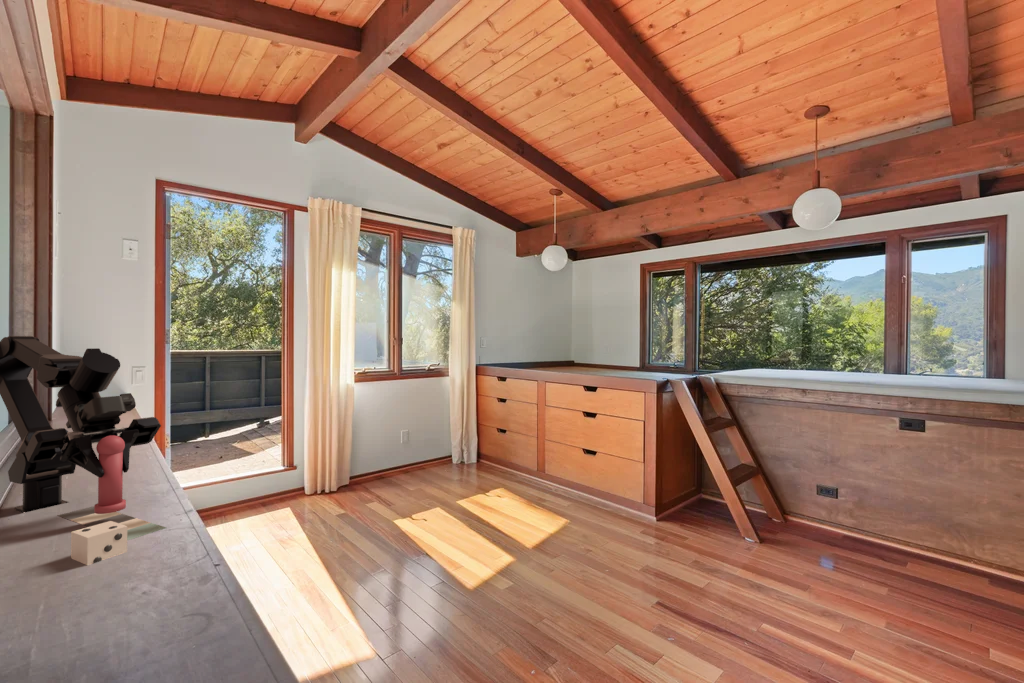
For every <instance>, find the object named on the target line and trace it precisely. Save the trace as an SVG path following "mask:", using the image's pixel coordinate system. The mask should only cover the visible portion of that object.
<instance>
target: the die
mask: <svg viewBox="0 0 1024 683" xmlns="http://www.w3.org/2000/svg"><path fill="white" fill-rule="evenodd" d="M70 534H71V537H70V539H71V540H70V541H71V542H70V543H71V544H70V546H71V547H70V550H71V551H70V556H71V557H70V559H72V560H74V561H76V562H78V563H81V564H83V565H86V566H90V565H93V564H96V563H99V562H101V561H104V560H107V559H111V558H114V557H115V556H116V557H117V556H119V555H122V554H126V553H127V552H128V540H127V526H125V525H122V524H119V523H116V522H113V521H108V522H105V523H101V524H98V525H94V526H90V527H88V526H86V527H84V528H81V529H77V530H73V531H71V533H70Z"/></svg>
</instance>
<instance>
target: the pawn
mask: <svg viewBox="0 0 1024 683" xmlns="http://www.w3.org/2000/svg"><path fill="white" fill-rule="evenodd" d="M124 448H125V442H124V440H123V439H122V438H121V437H119V436H115V435H110V436H106V437H104V438H102V439H101V440H100V441H99V442H98V443H96V448H95V449H96V452H97V454H98V456H97V458H98V460H99V462H100V464H101V466H102V468H103V471H104V475H103V477H101V478H99V477H98V478H97V479H98V480H97V481H98V482H97V491H98V492H97V495H98V496H97V500H98V501H97V503H95V504H94V513H96V514H106V513H113V512H120V511H122V510H124V509H126V507H127V501H126V499H124V498H123V490H124V489H123V486H124V485H123V481H124V479H123V475H124V474H123V473H124V472H123V450H124Z"/></svg>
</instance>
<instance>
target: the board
mask: <svg viewBox="0 0 1024 683" xmlns="http://www.w3.org/2000/svg"><path fill="white" fill-rule="evenodd" d="M94 506H95V505H94ZM94 506H89V507H85V508H82V509H77V510H74V511H68V512H65V513H62V514H61V513H60V514H57V515H56V516H57V517H60V518H63V519H65V520H69V521H72V522H73V523H77V524H79V525H82V526H85V527H90V526H94V525H98V524H101V523H105V522H108V521H113V522H116V523H119V524H122V525H125V526H127V541H130V540H133V539H136V538H139V537H143V536H146V535H149V534H153V533H155V532H158V531H162V530H165V529H167V526H163V525H160V524H156V523H154V522H153V523H152V522H149V521H148V520H147V521H146V520H144V519H140V518H137V517H134V516H132V515H128V514H124V513H121V512H119V511H117V512H113V513H106V514H96V513H94Z"/></svg>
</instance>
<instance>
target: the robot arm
mask: <svg viewBox="0 0 1024 683" xmlns="http://www.w3.org/2000/svg"><path fill="white" fill-rule="evenodd" d="M120 367H121V362H120V360H119V359H118V358H116V357H115V356H113V355H111V354H109V353H107V352H103V351H101V348H86V350H85V352H84V353H83V356H80V355H69V354H64V353H61V352H59V351H57V350H56V349H54V348H52V347H50V346H48V345H47V344H45V343H43V342H42V341H40V339H39V338H38V337H36V336H32V335H9V336H4V337H3V338H2V339H0V396H1V397H0V398H1V399H2V402H3V403H4V406H5V408H6V410H7V412H8V415H9V417H10V419H11V420H12V423H13V425H14V428H15V429H16V431H17V434H18V436H19V438H20V440H21V443H20V445H19V447H18V449H17V451H16V454H15V458H14V460H13V462H12V464H11V466H10V467H9V469H8V470H7V475H8V481H9V482H10V483H13V484H19V485H22V504H21V505H18V506H15V507H14V510H15V509H16V510H15V511H17V510H19V512H20V511H22V512H21V513H23V512H25V513H26V514H27V513H29V512H33V511H37V510H42V509H47V508H51V507H55V506H59V505H63V504H67V503H69V501H67V500H64V499H63V498H62V497H63V494H62V491H63V489H62V488H63V479H62V478H63V476H65V475H71V474H75V470H76V468H77V467H76V466H78V467H80V468H82V469H84V470H85V471H87V472H89V473H91V474H92V475H94V476H96V477H99V478H101V477H103V475H104V471H103V468H102V466H101V464H100V462H99V460H98V456H97V454H96V452H95V450H94V448H93V445H94V444H98V442H99V441H100V440H101V439H102V438H104V437H106V436H110V435H115V436H119V437H121V438H122V439H123V440H124V442H125V448H124V450H123V473H127V472H128V471H129V469H130V453H131V448H132V447H135V446H142V445H148V444H149V443H151V442H153V440H154V438H155V436H156V434H157V433H158V432H159V430H160V428H161V427H162V425H161V423H160V421H159V419H158V418H157V417H155V416H150V417H143V418H134V419H132V420H131V422H130V424H129V426H128V427H124V426H122V427H116V425H119V424H120V422H121V421H122V419H121V417H120V416H122V415H123V414H126V413H128V412H131V411H132V410H134V409H135V408H136V407H137V406H136V404H137V403H136V400H135V398H134V396H133V394H132V393H130V392H129V393H120V394H119V395H112V396H101V394H100V392H103V391H105V390H107V389H108V387H109V386H110V384H111V383H112V380H113V379H114V377H115V376H116V374H117V373H118V371H119V369H120ZM32 370H34V371H36V373H37V374H36V380H37V381H38V382H39V383H40V384H41V385H43V387H44V388H47V389H51V388H52V389H53V388H54V389H55V388H60V389H59V390H58V392H57V399H56V401H55V406H56V407H57V408H59V407H60V408H61V407H62V409H63V412H64V414H65V416H66V418H67V421H66V423H65V425H66V428H67V429H66V428H64V427H63V428H62V427H59V428H53V427H52V425H51V422H50V421H49V419H48V417H47V415H46V413H45V411H44V409H43V407H42V405H41V403H40V400H39V398H38V396H37V394H36V392H35V391H34V388H33V386H32V385H31V382H30V381H29V378H28V377H29V375H30V373H31V372H32ZM68 429H71V430H72V431H68ZM25 513H24V514H25Z"/></svg>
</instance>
